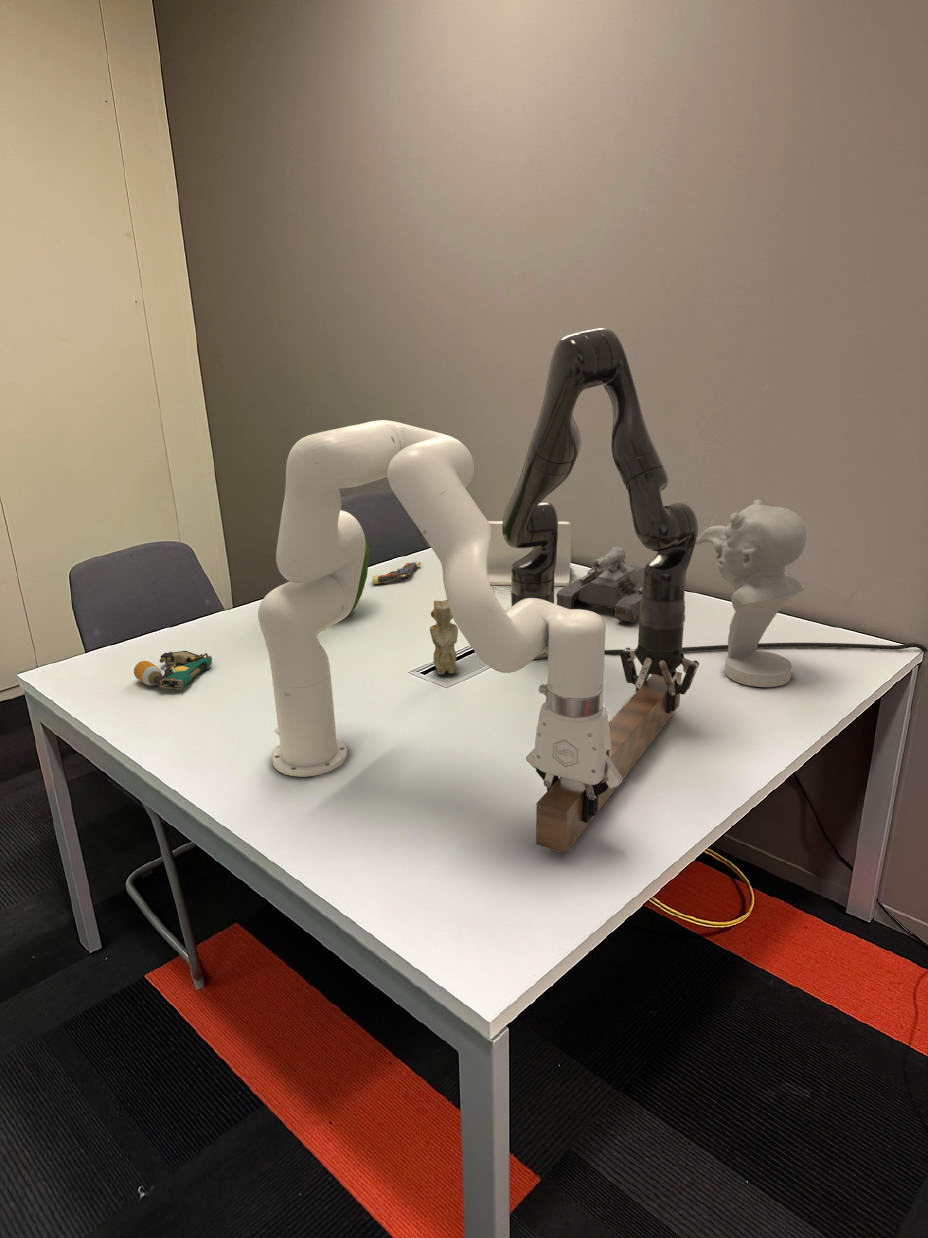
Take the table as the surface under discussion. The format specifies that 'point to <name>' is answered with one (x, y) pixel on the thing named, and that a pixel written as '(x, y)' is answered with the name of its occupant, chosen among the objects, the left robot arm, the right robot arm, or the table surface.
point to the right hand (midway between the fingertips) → (655, 708)
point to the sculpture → (443, 638)
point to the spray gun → (172, 669)
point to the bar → (628, 742)
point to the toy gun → (396, 573)
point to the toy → (607, 587)
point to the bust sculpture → (757, 585)
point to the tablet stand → (506, 556)
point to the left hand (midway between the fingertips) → (571, 811)
